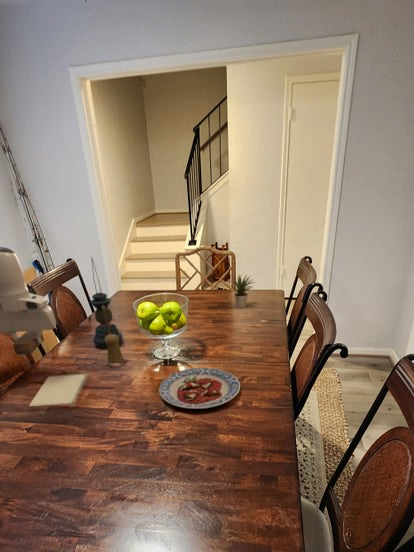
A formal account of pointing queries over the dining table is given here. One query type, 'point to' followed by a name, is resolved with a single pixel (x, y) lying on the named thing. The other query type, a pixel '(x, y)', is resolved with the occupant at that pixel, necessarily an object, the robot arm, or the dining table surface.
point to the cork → (113, 349)
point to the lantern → (103, 318)
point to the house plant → (241, 291)
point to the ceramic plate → (199, 388)
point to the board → (59, 390)
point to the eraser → (26, 343)
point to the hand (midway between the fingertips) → (29, 343)
